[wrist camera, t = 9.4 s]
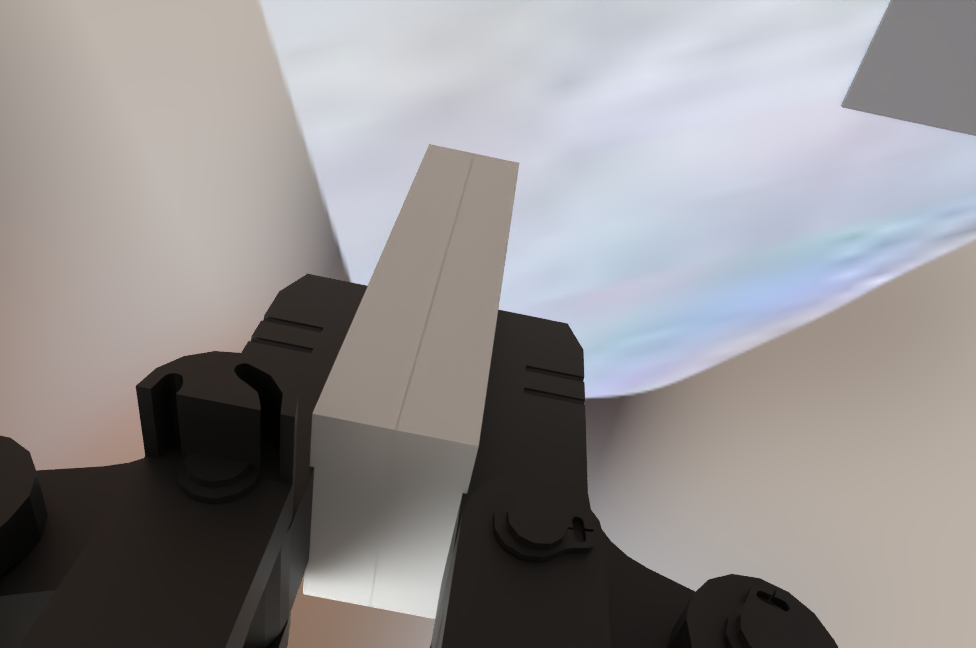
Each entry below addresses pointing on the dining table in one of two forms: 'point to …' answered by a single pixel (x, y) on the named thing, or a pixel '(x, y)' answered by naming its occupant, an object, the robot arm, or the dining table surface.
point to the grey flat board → (921, 65)
